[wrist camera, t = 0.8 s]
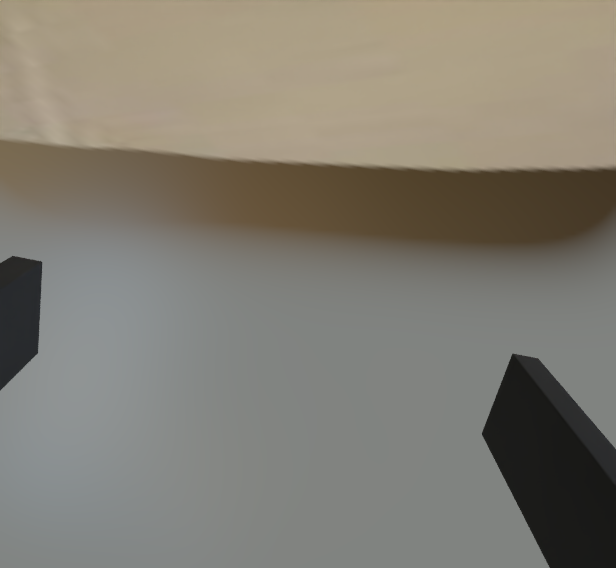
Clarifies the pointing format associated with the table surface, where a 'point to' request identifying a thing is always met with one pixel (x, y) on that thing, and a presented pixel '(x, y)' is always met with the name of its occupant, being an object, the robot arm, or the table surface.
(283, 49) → the table surface
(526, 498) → the robot arm
